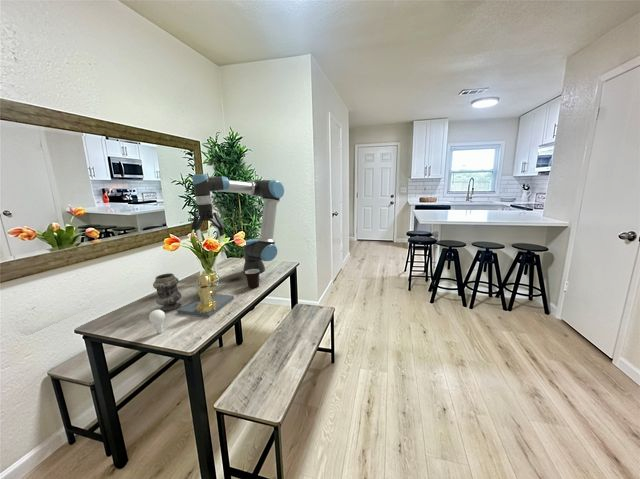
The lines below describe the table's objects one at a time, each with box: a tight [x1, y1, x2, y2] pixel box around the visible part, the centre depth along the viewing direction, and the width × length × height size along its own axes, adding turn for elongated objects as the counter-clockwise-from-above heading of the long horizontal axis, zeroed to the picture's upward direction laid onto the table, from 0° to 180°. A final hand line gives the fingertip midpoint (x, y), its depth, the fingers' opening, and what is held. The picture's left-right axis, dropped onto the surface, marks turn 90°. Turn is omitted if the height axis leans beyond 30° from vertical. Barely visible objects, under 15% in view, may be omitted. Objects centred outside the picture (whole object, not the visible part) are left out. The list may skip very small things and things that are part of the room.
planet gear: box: [197, 285, 217, 313], centre depth 137 cm, size 9×9×12 cm
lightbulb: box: [148, 309, 166, 334], centre depth 121 cm, size 6×6×11 cm
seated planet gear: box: [196, 274, 216, 299], centre depth 152 cm, size 9×9×12 cm
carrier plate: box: [176, 293, 235, 319], centre depth 145 cm, size 21×19×9 cm
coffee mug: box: [244, 269, 260, 290], centre depth 170 cm, size 12×9×10 cm
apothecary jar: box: [152, 272, 182, 313], centre depth 144 cm, size 12×12×18 cm
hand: (210, 241), depth 153 cm, fingers open, 13 cm apart
